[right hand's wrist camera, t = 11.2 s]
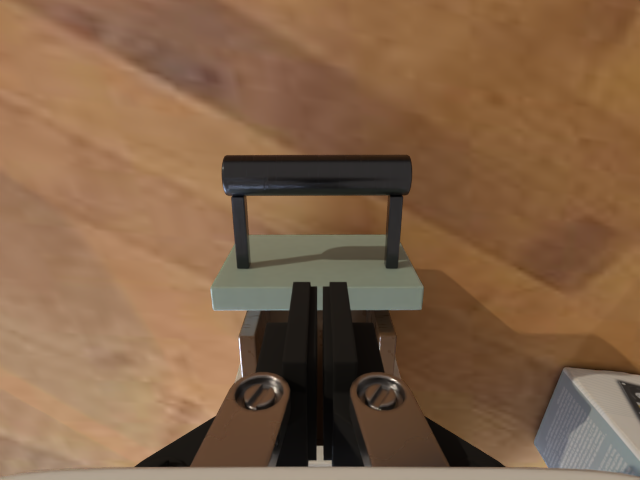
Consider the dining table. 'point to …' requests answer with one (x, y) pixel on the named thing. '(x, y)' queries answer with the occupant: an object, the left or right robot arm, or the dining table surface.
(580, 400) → the hard drive box
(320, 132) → the dining table surface
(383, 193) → the drawer
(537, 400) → the dining table surface
